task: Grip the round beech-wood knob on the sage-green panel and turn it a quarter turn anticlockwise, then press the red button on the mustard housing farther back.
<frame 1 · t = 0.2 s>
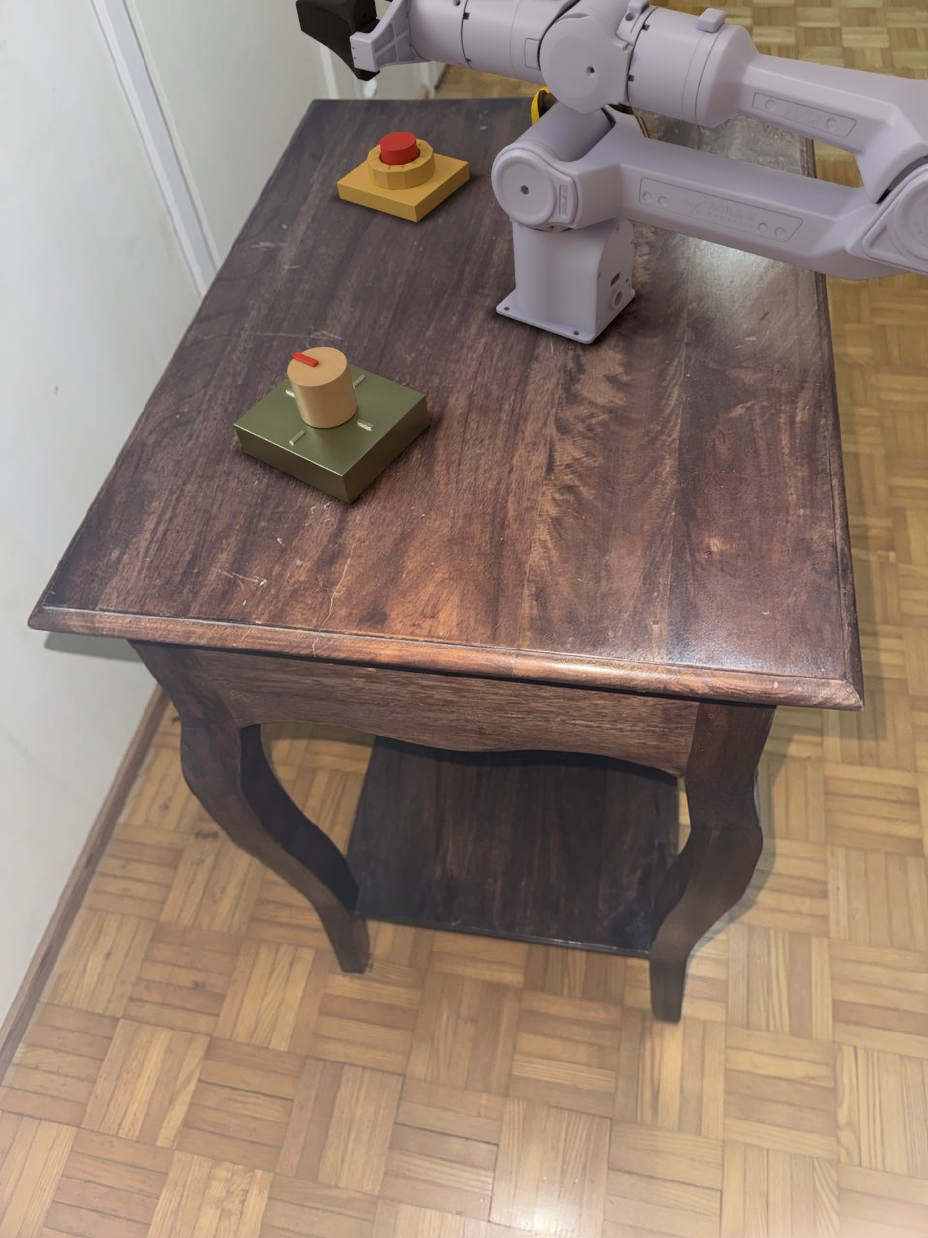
panel: (337, 438, 71), on the table
button: (399, 149, 89), point 4 cm above the table, slide at 0.1 cm
duckling: (583, 147, 94), on the table
housing: (404, 188, 92), on the table
knob: (322, 386, 67), point 5 cm above the table, hinge at 0.0°
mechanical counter: (593, 198, 88), on the table
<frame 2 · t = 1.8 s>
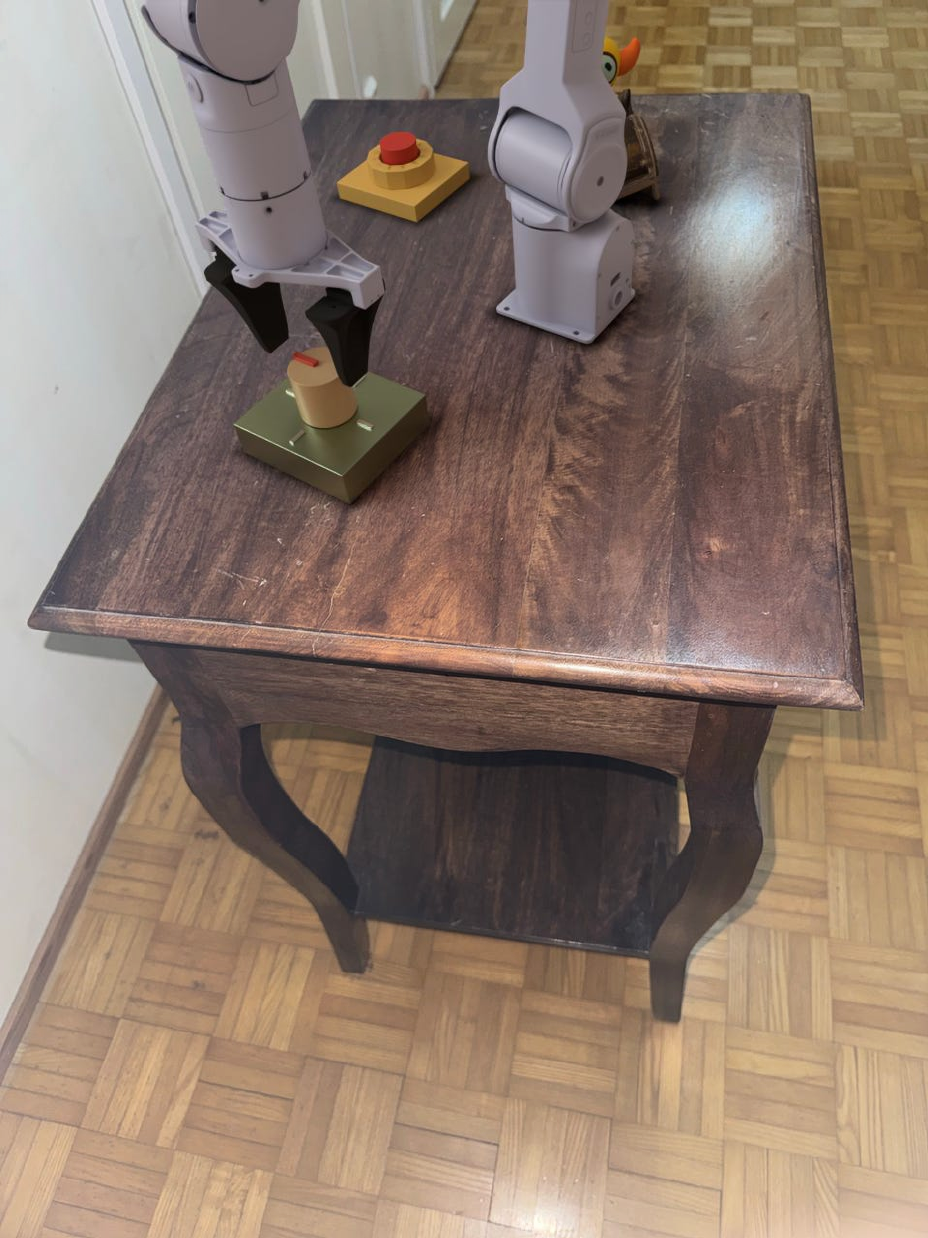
hand: (315, 360, 65), 7 cm above the table, tool pointing down, fingers open, 7 cm apart
nothing on the table moved.
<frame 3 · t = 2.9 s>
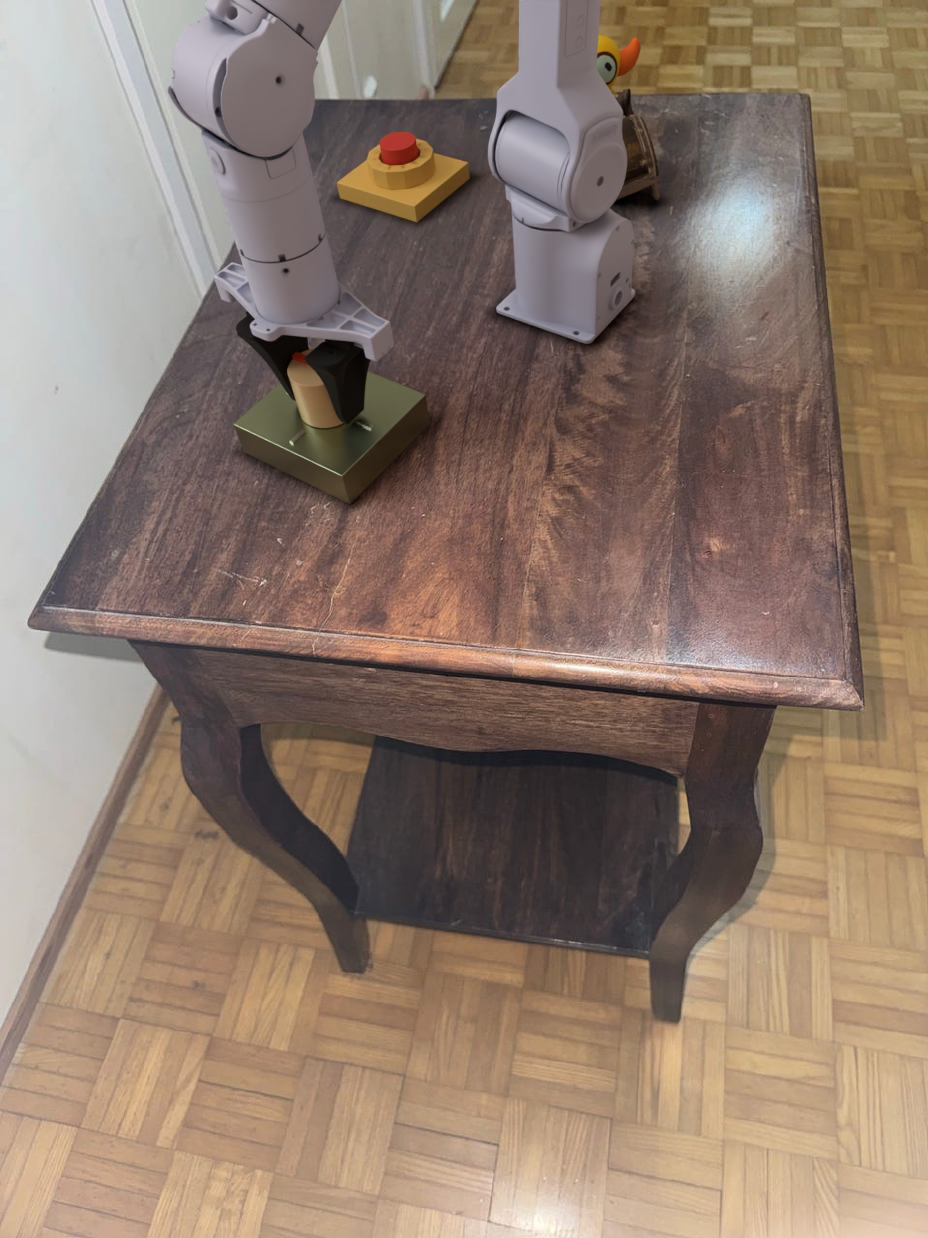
hand: (327, 403, 68), 4 cm above the table, tool pointing down, fingers closed on knob, 4 cm apart
knob: (322, 386, 67), point 5 cm above the table, hinge at 0.0°, touching gripper
everything else where it was.
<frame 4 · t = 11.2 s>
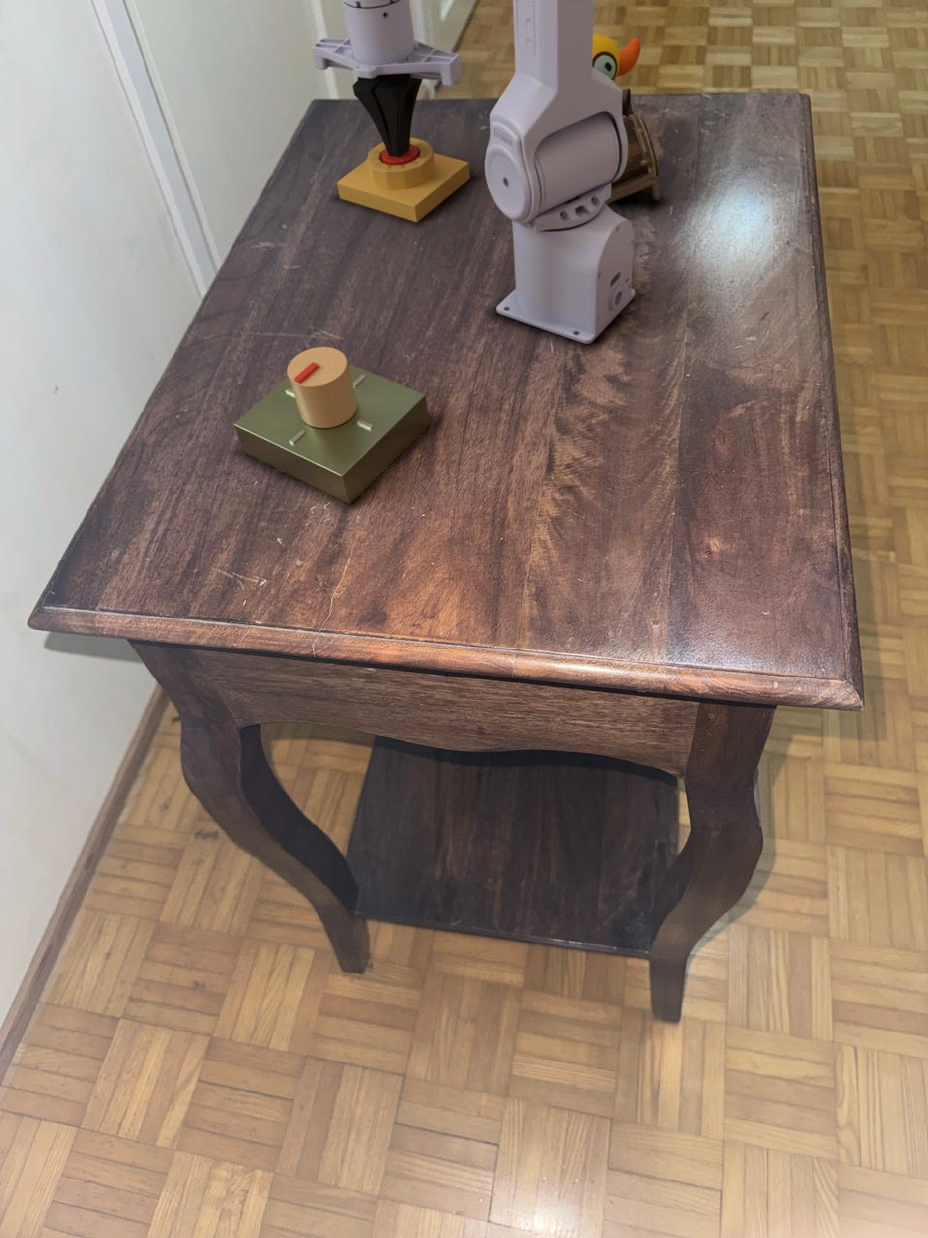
hand: (399, 151, 89), 4 cm above the table, tool pointing down, fingers closed, pressing on button
button: (400, 160, 90), point 3 cm above the table, slide at -1.0 cm, touching gripper
knob: (322, 386, 67), point 5 cm above the table, hinge at 89.8°
everything else where it was.
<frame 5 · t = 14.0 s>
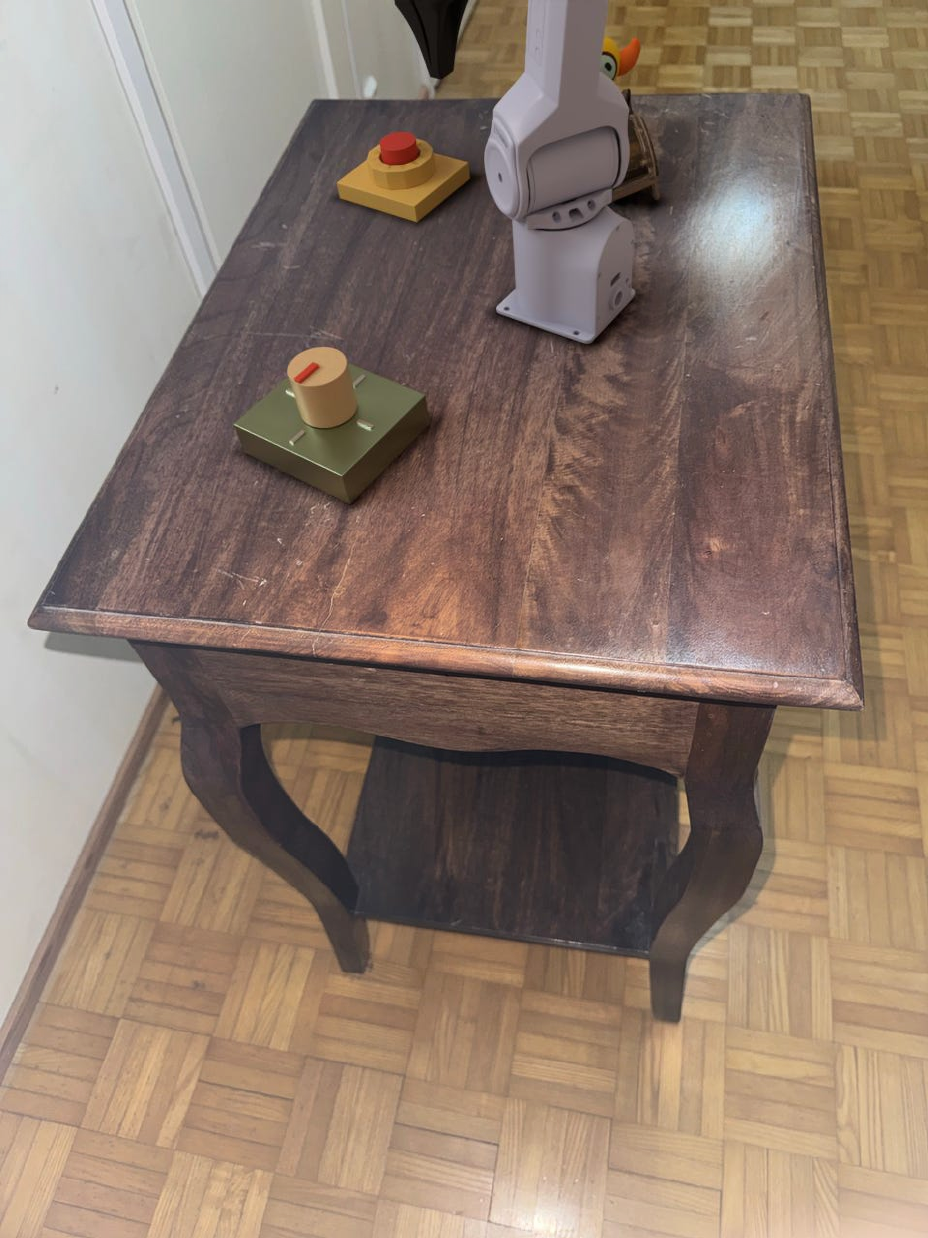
hand: (441, 73, 84), 10 cm above the table, tool pointing down, fingers closed
button: (399, 149, 89), point 4 cm above the table, slide at 0.1 cm
everything else where it was.
at the end: knob at +90° (first picture: +0°); button pushed in 1.2 cm at the most during the clip, back to where it started at the end; button slide at 0.1 cm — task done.
